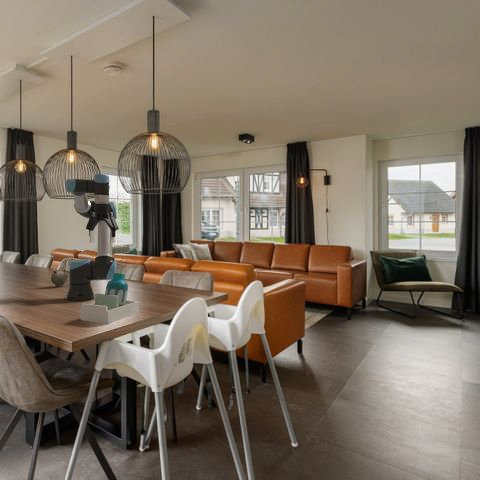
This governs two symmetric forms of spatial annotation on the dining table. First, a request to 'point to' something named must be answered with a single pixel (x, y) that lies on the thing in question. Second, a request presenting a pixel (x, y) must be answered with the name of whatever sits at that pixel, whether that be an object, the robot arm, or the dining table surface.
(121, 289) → the vase
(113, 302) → the pusher
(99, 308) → the pusher lane
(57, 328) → the dining table surface
